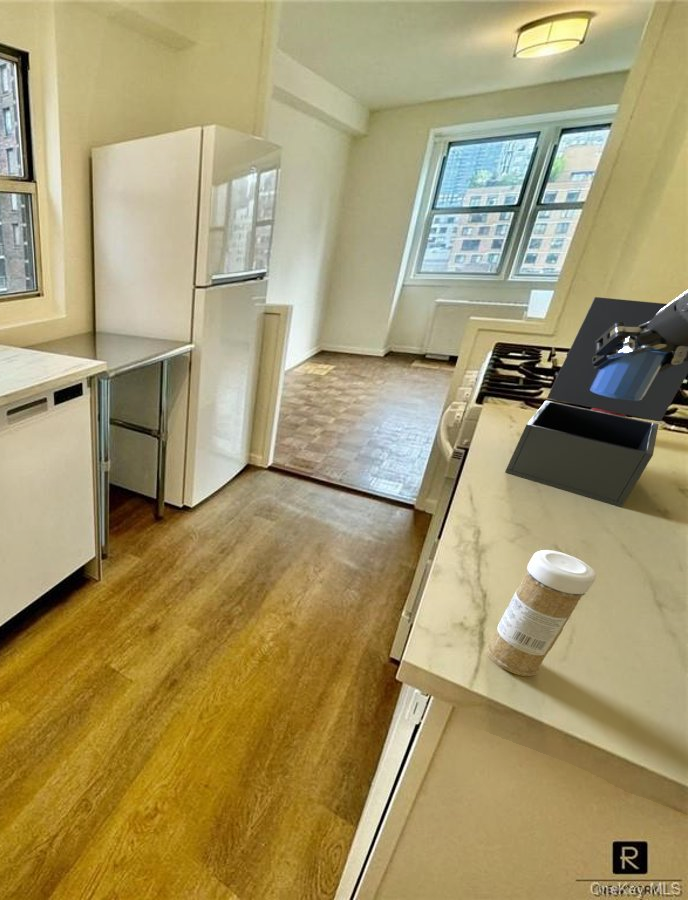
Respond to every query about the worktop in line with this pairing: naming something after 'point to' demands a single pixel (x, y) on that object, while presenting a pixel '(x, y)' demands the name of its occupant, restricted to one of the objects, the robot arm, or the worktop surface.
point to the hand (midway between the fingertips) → (622, 366)
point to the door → (581, 372)
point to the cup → (628, 375)
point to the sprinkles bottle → (539, 611)
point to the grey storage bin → (584, 451)
